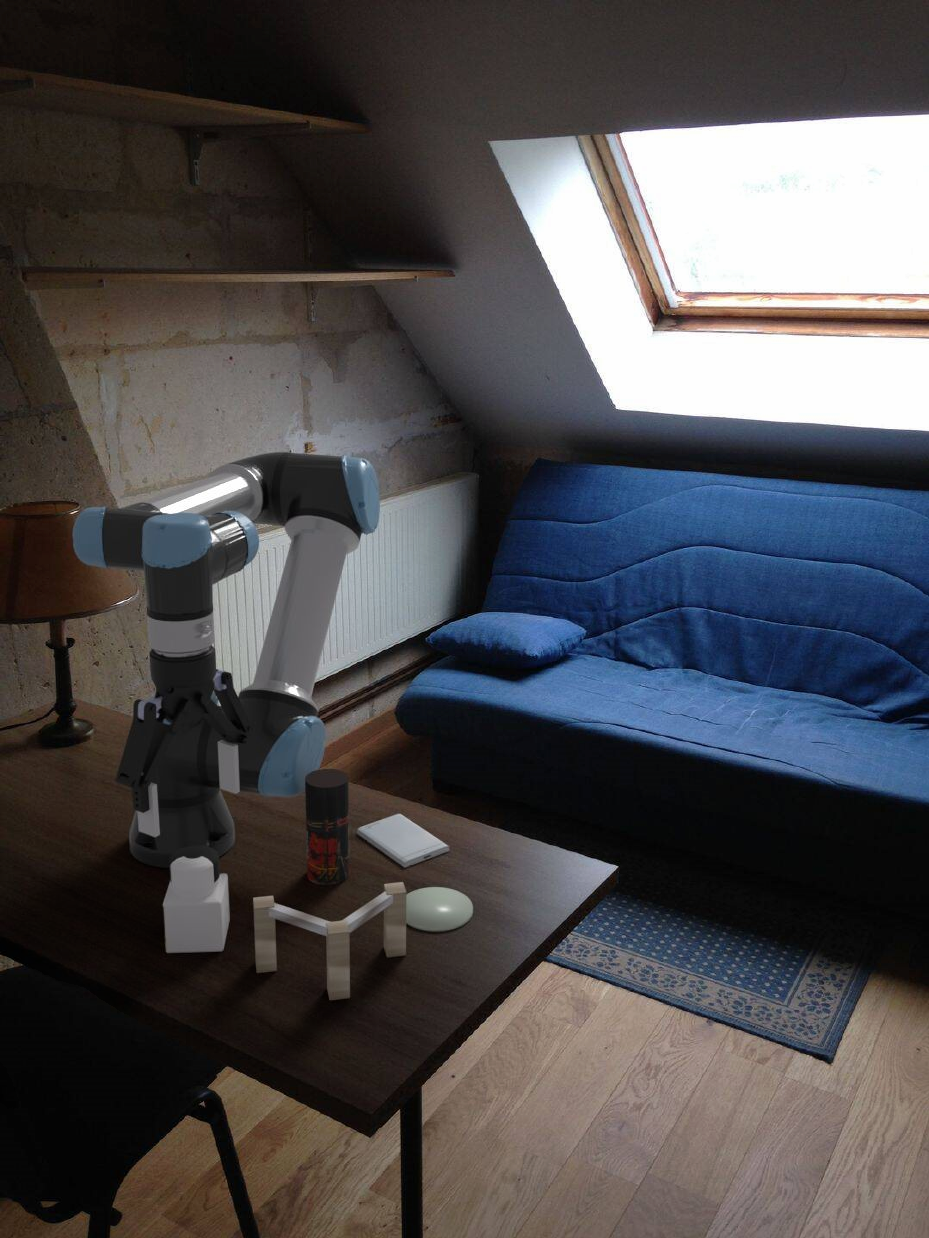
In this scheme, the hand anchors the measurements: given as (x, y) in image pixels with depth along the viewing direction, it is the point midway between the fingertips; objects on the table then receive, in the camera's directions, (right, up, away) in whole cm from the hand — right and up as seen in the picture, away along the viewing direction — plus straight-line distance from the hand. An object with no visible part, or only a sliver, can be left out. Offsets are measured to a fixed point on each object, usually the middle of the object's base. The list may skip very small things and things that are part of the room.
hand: (191, 810), depth 135 cm
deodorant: (+14, -13, +21) cm, 28 cm away
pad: (+30, -16, +13) cm, 36 cm away
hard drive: (+24, -11, +30) cm, 40 cm away
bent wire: (+18, -20, -1) cm, 27 cm away
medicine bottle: (0, -17, +6) cm, 18 cm away
